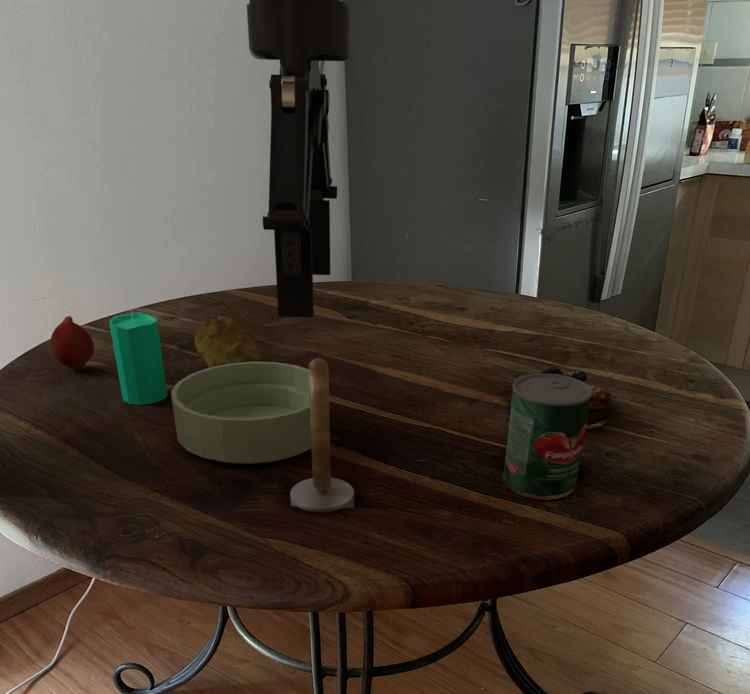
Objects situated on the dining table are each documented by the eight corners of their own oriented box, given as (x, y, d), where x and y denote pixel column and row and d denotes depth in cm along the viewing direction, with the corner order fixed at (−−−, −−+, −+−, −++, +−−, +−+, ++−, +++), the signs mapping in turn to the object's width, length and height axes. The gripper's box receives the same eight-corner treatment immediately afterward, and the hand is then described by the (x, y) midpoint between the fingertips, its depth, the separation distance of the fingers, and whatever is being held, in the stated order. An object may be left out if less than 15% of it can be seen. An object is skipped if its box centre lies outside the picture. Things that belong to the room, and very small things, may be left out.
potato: (210, 396, 100) (204, 339, 96) (194, 365, 110) (188, 312, 106) (270, 388, 102) (266, 332, 98) (249, 359, 113) (244, 307, 109)
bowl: (158, 466, 82) (150, 417, 79) (199, 403, 98) (194, 359, 95) (320, 471, 81) (319, 422, 78) (335, 406, 97) (335, 363, 94)
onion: (65, 380, 104) (53, 325, 100) (49, 369, 108) (37, 315, 104) (104, 370, 108) (94, 316, 104) (87, 360, 111) (77, 308, 107)
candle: (128, 387, 102) (113, 301, 96) (172, 387, 102) (160, 301, 96) (117, 404, 97) (100, 314, 91) (163, 404, 97) (149, 314, 91)
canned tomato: (558, 508, 75) (574, 409, 69) (489, 486, 79) (499, 390, 73) (587, 478, 81) (603, 384, 75) (521, 459, 84) (532, 368, 79)
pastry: (543, 437, 89) (549, 392, 86) (496, 401, 99) (501, 359, 96) (619, 426, 93) (627, 382, 90) (567, 391, 102) (573, 351, 99)
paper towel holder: (286, 524, 72) (277, 370, 64) (295, 492, 77) (288, 346, 69) (351, 527, 72) (350, 372, 64) (356, 494, 77) (355, 348, 69)
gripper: (334, -20, 42) (337, 340, 53) (361, 9, 64) (359, 261, 74) (204, -23, 42) (233, 336, 53) (275, 8, 64) (285, 259, 75)
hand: (306, 293), depth 64 cm, fingers open, 13 cm apart
